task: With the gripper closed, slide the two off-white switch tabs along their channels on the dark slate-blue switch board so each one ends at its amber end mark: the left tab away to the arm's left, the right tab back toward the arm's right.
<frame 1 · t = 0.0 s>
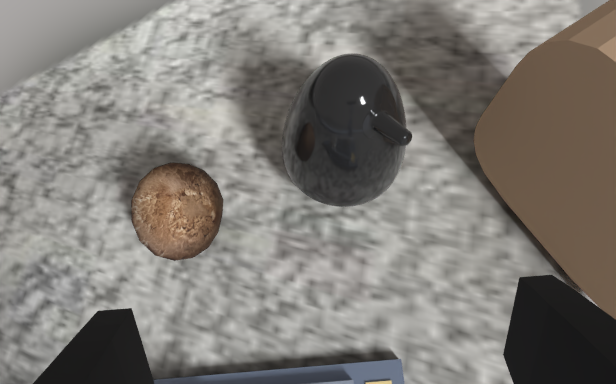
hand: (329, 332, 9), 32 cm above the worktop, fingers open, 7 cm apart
mushroom: (187, 221, 44), on the worktop
alarm clock: (569, 213, 44), on the worktop
pump dispenser: (340, 167, 46), on the worktop
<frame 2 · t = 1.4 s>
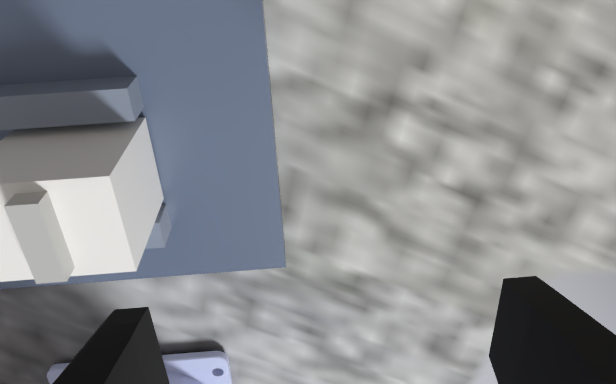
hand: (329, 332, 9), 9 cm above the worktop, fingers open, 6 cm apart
tab a: (69, 199, 14), point 3 cm above the worktop, slide at 0.0 cm
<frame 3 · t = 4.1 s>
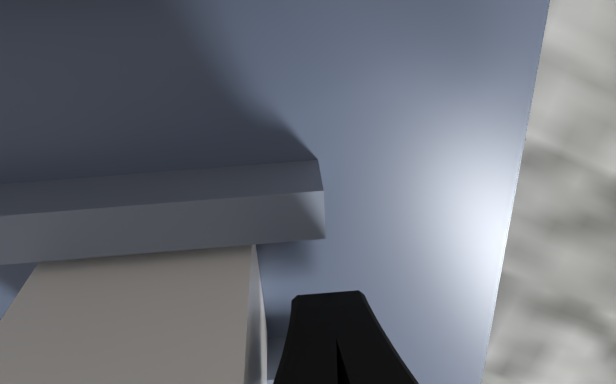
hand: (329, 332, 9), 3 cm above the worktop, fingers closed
tab a: (144, 377, 9), point 3 cm above the worktop, slide at 1.4 cm, touching gripper
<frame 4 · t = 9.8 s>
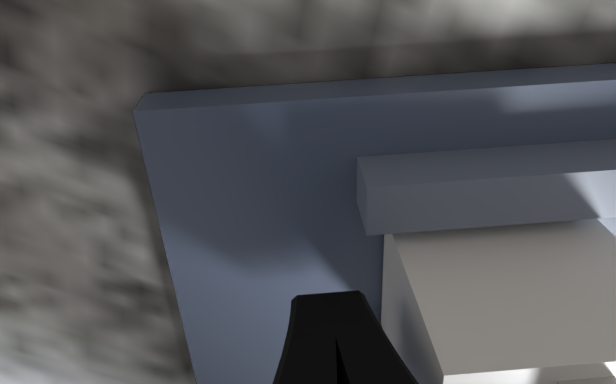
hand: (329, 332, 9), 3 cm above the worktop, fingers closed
tab b: (518, 345, 9), point 3 cm above the worktop, slide at 0.6 cm, touching gripper
switch board: (589, 366, 14), on the worktop
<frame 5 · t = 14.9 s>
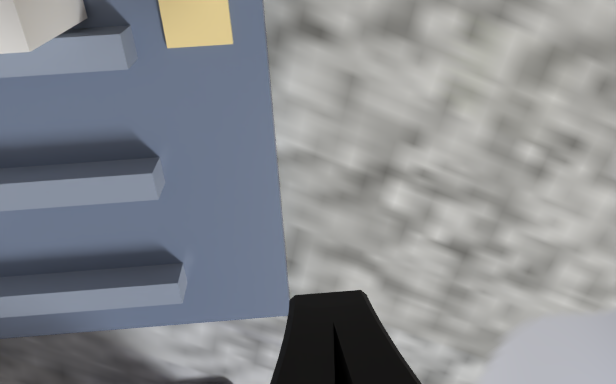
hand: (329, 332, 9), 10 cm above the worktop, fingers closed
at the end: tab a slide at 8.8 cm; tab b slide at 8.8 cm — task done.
